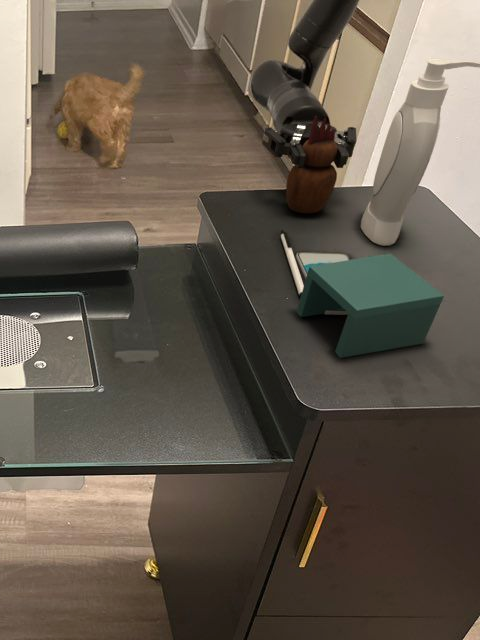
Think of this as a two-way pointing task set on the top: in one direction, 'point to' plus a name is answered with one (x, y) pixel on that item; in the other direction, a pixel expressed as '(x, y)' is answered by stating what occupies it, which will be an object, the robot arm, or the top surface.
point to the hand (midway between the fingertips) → (322, 161)
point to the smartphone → (317, 259)
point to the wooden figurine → (313, 172)
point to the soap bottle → (407, 152)
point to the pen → (292, 262)
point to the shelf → (372, 303)
